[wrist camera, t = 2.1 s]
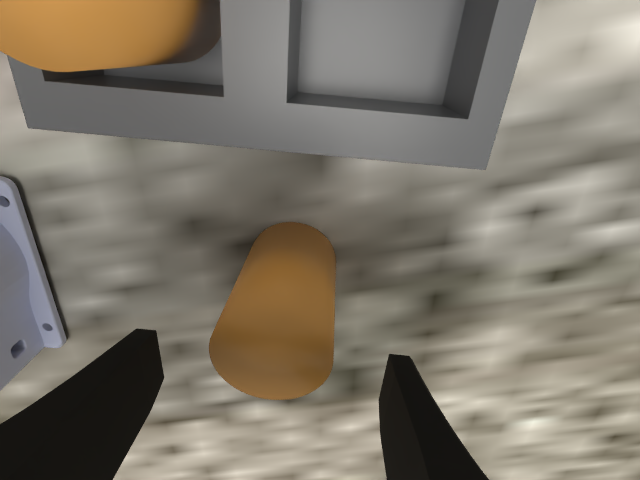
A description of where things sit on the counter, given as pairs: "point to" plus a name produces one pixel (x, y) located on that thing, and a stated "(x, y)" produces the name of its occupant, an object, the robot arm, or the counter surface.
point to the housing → (273, 73)
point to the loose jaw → (279, 316)
